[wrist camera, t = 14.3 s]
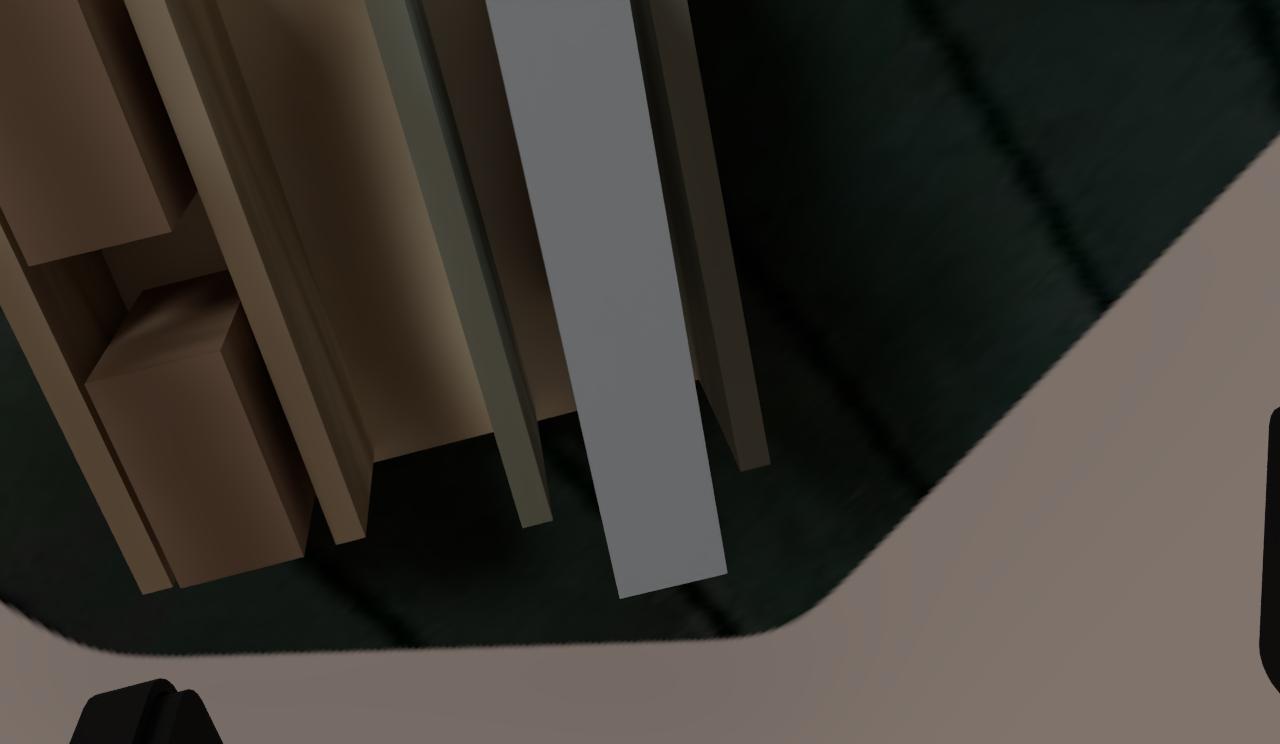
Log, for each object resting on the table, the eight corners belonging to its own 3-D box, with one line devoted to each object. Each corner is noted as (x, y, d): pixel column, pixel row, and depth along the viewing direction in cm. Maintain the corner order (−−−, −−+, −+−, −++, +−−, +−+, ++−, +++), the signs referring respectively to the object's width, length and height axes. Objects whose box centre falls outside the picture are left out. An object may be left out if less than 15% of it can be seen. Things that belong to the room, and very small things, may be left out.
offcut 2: (255, 262, 33) (219, 350, 28) (324, 444, 36) (303, 556, 30) (142, 290, 33) (84, 384, 28) (219, 470, 36) (180, 588, 30)
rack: (622, -233, 31) (678, -246, 23) (732, 348, 38) (798, 473, 31) (-114, -65, 30) (-290, -24, 22) (148, 497, 37) (78, 660, 30)
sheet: (531, -160, 30) (606, -135, 16) (617, 279, 35) (727, 573, 22) (452, -145, 29) (461, -107, 16) (550, 294, 35) (619, 598, 21)
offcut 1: (129, -73, 29) (58, -47, 24) (217, 160, 32) (172, 232, 26) (-1, -43, 29) (-102, -10, 24) (98, 189, 32) (29, 266, 26)
